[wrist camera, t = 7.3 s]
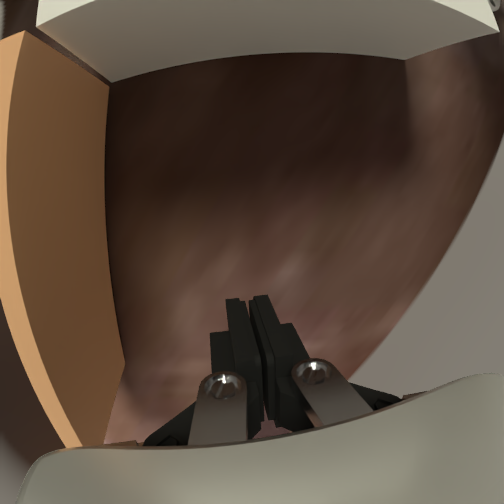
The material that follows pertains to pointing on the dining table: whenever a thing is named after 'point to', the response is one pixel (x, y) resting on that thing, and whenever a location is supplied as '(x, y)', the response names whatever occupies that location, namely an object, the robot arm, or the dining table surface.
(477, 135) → the dining table surface
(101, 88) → the side door
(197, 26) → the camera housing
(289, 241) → the dining table surface
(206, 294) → the dining table surface
